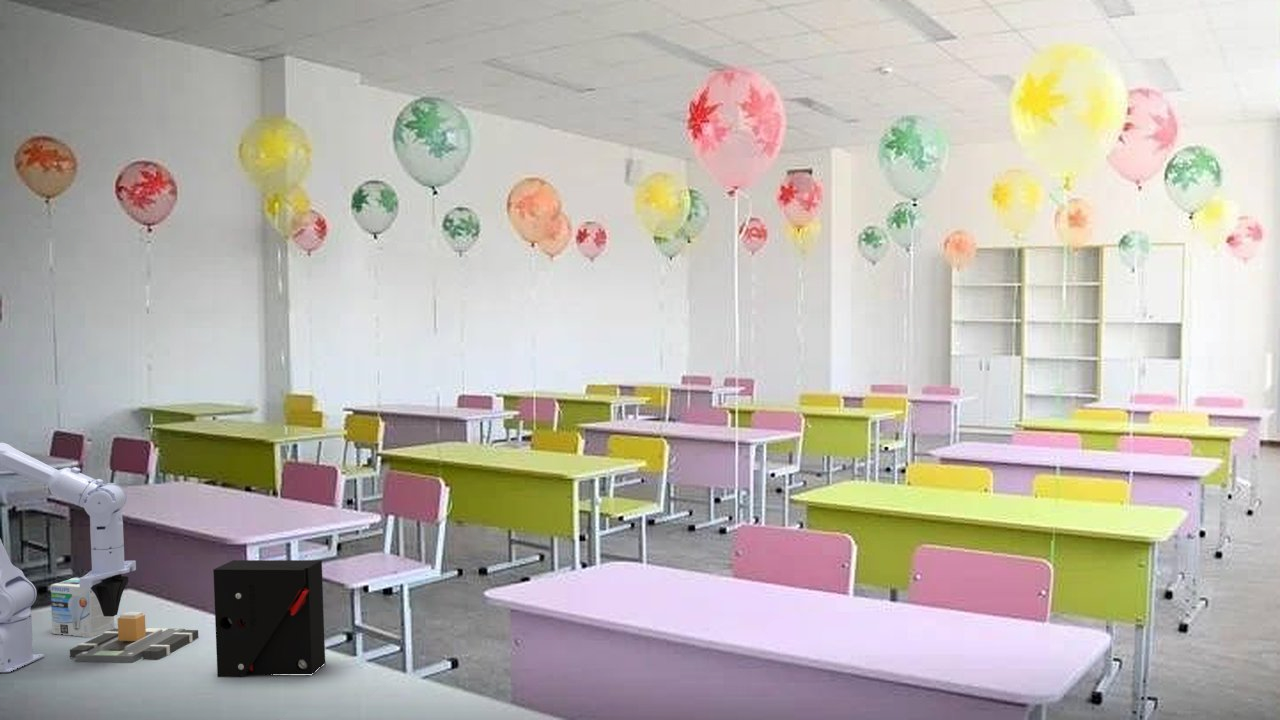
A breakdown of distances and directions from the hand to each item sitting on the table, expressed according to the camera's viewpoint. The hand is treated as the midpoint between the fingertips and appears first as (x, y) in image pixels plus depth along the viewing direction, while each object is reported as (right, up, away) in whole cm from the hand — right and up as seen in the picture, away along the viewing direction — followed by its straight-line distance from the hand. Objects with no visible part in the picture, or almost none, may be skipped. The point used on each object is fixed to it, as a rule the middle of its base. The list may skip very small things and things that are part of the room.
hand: (110, 615), depth 202 cm
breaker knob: (+1, -6, +7) cm, 9 cm away
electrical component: (+35, -8, -9) cm, 37 cm away
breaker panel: (+1, -8, +7) cm, 11 cm away
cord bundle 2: (+9, -8, +6) cm, 14 cm away
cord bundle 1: (-6, -8, +8) cm, 13 cm away
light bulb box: (-16, -8, +19) cm, 26 cm away
